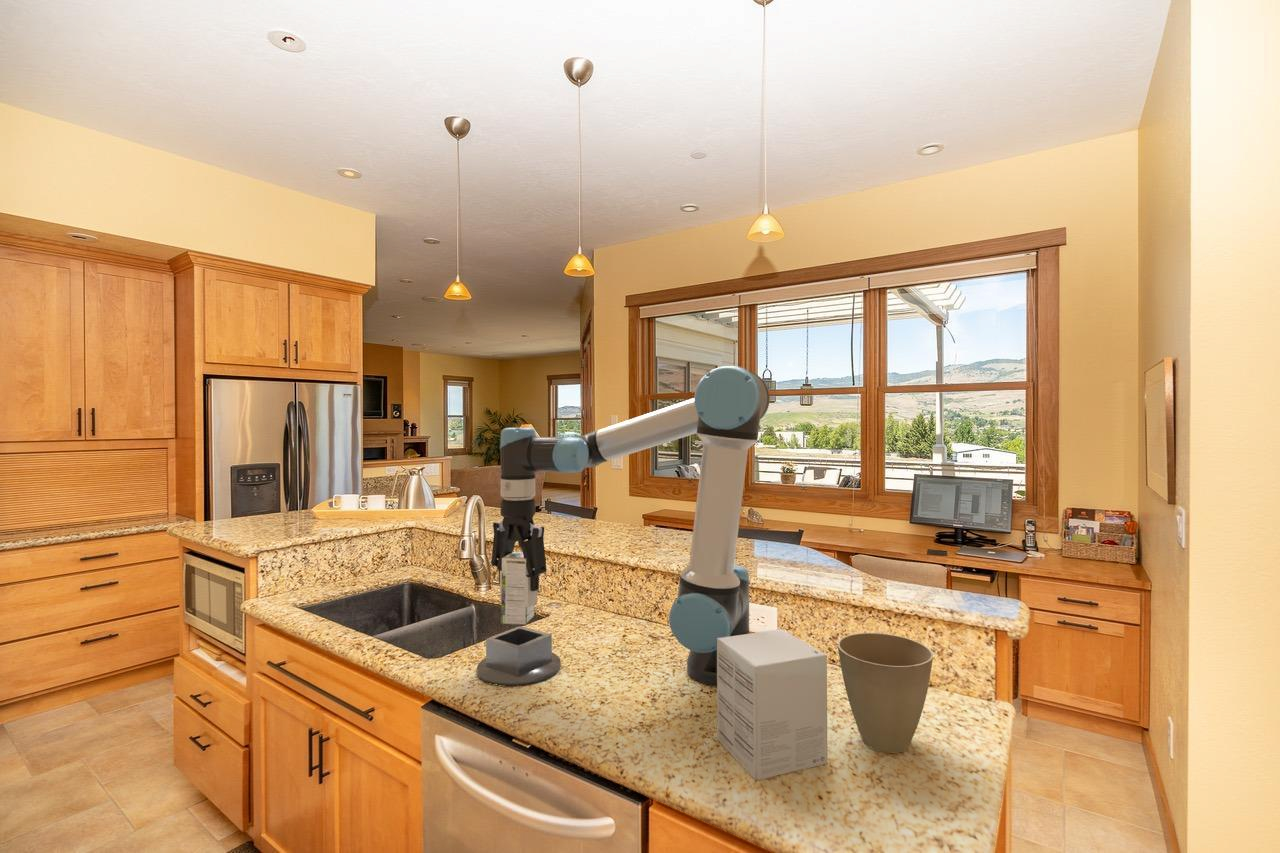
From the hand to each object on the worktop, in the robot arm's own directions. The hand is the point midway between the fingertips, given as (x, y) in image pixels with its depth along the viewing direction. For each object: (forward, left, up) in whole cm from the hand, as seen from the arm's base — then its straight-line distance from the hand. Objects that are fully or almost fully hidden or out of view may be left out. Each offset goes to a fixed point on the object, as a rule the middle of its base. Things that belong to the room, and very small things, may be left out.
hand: (518, 601), depth 134 cm
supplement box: (-51, -29, -15) cm, 61 cm away
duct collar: (0, 0, -15) cm, 15 cm away
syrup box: (0, 0, -4) cm, 4 cm away
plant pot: (-57, -48, -15) cm, 76 cm away
